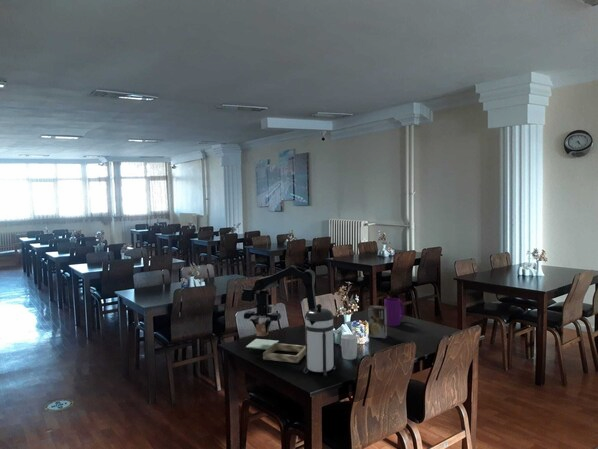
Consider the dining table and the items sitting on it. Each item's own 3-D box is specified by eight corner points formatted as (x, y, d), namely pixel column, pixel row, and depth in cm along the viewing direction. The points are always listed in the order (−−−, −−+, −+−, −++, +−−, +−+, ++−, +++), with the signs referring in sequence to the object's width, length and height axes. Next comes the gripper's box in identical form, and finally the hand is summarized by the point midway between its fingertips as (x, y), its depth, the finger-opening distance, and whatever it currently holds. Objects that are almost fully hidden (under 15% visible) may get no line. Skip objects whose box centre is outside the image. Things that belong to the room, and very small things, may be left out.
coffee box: (387, 335, 258) (387, 306, 256) (385, 338, 252) (384, 309, 250) (370, 333, 261) (370, 305, 260) (368, 337, 255) (367, 307, 254)
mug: (381, 324, 278) (381, 299, 277) (396, 319, 289) (396, 295, 288) (394, 327, 271) (394, 302, 270) (409, 322, 282) (409, 297, 281)
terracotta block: (268, 333, 246) (268, 322, 246) (264, 336, 241) (264, 324, 241) (260, 332, 248) (260, 321, 247) (256, 335, 243) (256, 324, 242)
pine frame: (307, 351, 233) (307, 346, 233) (297, 362, 218) (297, 356, 218) (274, 348, 238) (274, 342, 238) (262, 359, 224) (262, 353, 224)
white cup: (353, 361, 219) (353, 340, 219) (338, 358, 223) (338, 337, 223) (360, 356, 226) (360, 335, 225) (345, 353, 230) (345, 333, 229)
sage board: (278, 341, 249) (278, 340, 249) (269, 349, 237) (269, 348, 237) (256, 339, 253) (256, 338, 253) (246, 347, 241) (246, 346, 241)
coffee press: (343, 375, 203) (342, 306, 201) (307, 379, 199) (306, 309, 197) (332, 361, 220) (331, 297, 217) (298, 364, 216) (297, 300, 214)
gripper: (284, 299, 248) (284, 329, 249) (251, 298, 254) (252, 326, 255) (276, 304, 238) (277, 335, 239) (242, 302, 243) (243, 332, 244)
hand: (262, 332), depth 244 cm, fingers closed on terracotta block, 4 cm apart
